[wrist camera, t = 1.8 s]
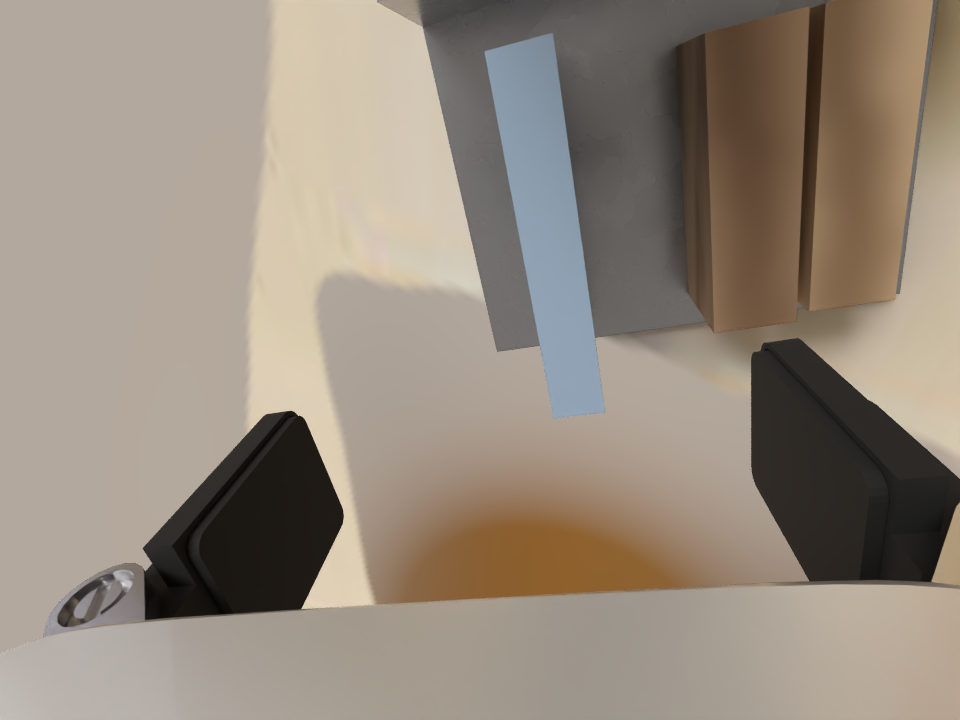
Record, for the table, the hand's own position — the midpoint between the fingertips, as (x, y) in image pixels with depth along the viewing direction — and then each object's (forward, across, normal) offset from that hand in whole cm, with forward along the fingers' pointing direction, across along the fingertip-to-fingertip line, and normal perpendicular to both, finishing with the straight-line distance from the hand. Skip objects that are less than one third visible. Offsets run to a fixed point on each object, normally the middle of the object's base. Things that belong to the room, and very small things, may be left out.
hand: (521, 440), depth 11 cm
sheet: (+24, -1, 0) cm, 24 cm away
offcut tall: (+24, -11, 0) cm, 26 cm away
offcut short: (+23, -16, 0) cm, 28 cm away
